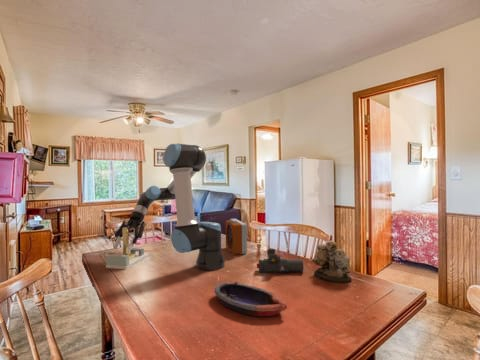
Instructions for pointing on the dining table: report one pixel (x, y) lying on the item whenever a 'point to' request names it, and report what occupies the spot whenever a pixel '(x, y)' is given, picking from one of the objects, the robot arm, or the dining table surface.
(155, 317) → the dining table surface
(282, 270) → the laser sight
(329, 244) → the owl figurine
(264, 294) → the dish
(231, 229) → the alarm clock
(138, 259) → the jamb board
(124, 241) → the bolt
